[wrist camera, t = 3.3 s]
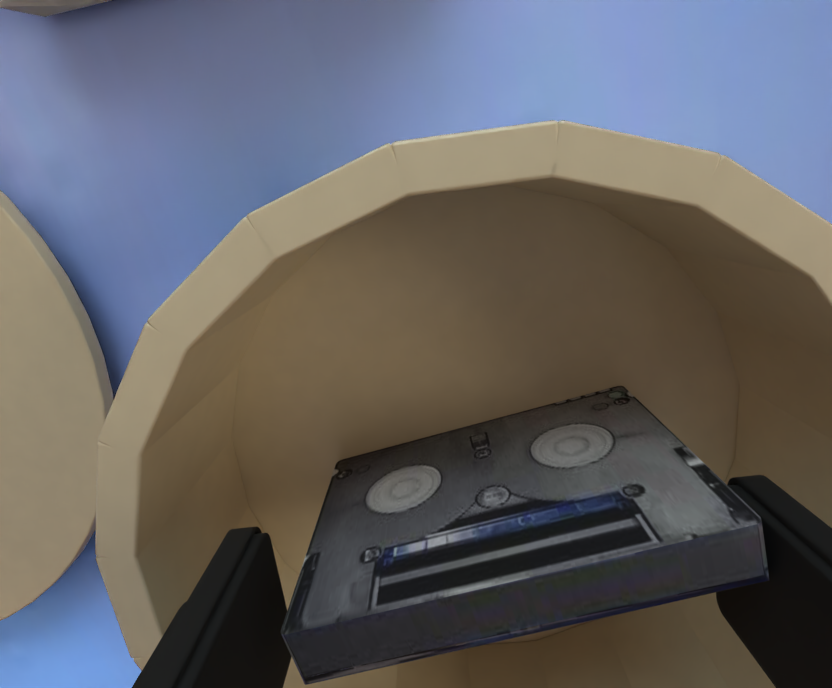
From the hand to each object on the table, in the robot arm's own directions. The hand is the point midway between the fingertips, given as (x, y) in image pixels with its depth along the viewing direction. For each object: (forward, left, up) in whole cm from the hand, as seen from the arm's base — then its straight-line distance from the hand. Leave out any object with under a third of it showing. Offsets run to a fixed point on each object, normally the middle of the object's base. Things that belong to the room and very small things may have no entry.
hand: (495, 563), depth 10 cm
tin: (0, 0, -5) cm, 5 cm away
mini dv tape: (0, 0, -4) cm, 4 cm away
